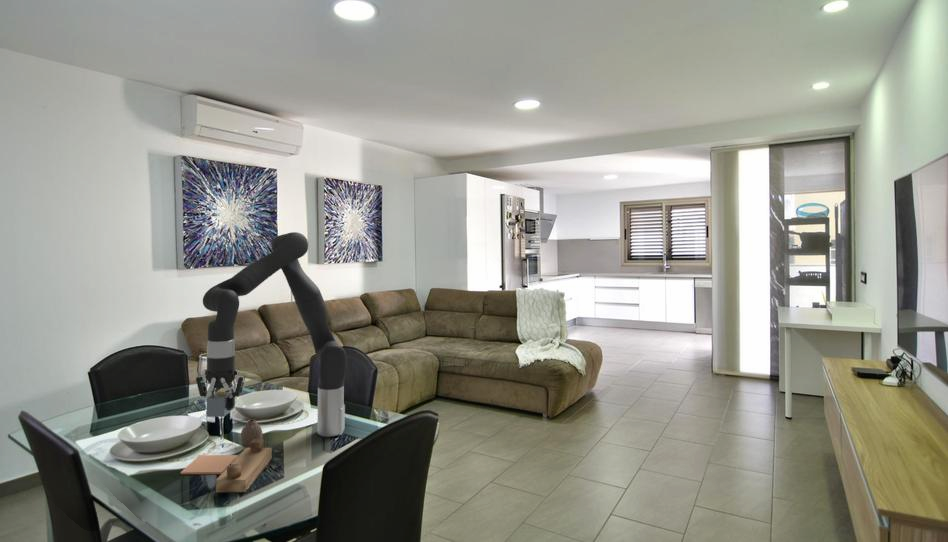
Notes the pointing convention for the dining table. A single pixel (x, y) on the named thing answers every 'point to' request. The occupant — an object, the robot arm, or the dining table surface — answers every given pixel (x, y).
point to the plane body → (244, 468)
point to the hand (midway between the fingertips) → (220, 409)
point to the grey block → (218, 404)
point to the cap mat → (209, 464)
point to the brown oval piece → (250, 433)
